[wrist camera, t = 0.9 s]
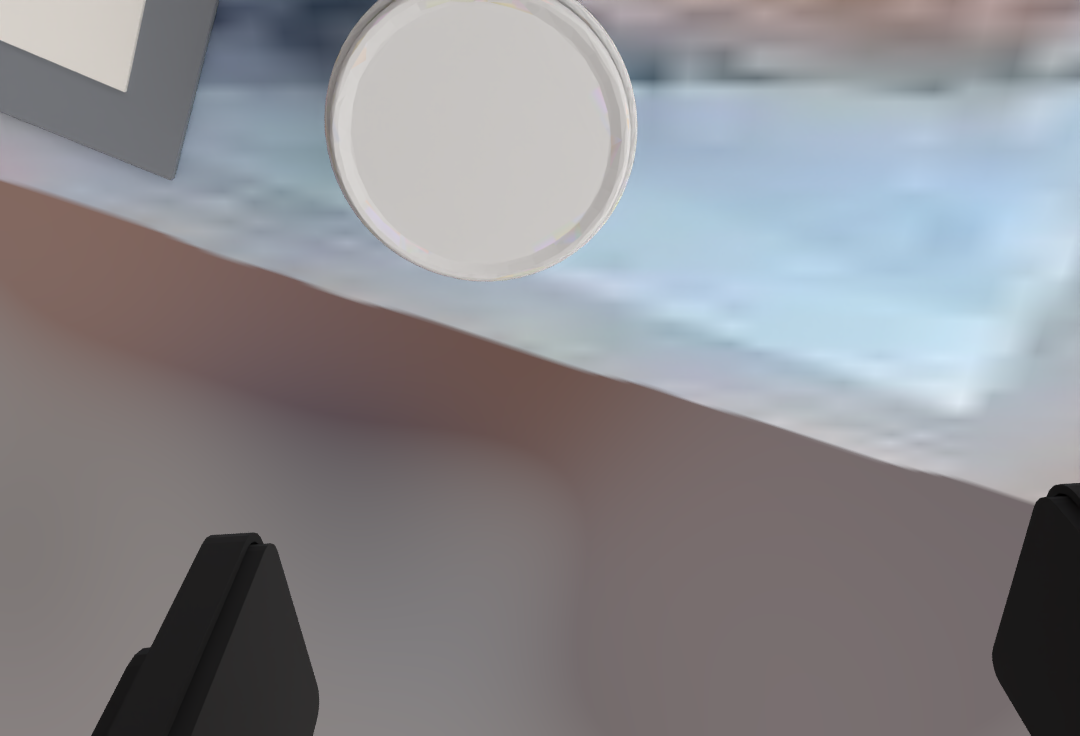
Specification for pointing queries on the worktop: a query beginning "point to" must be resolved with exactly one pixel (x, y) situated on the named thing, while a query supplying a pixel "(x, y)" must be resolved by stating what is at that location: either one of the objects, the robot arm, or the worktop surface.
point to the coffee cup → (481, 131)
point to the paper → (77, 34)
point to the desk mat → (110, 114)
